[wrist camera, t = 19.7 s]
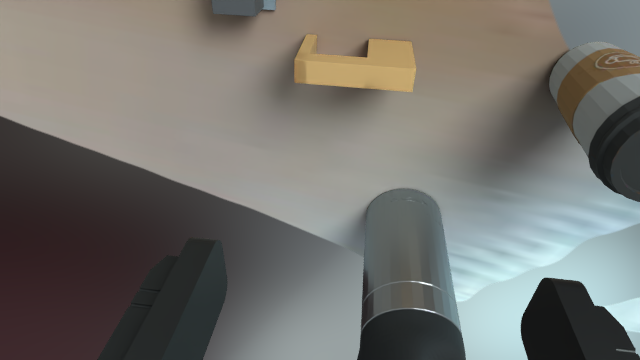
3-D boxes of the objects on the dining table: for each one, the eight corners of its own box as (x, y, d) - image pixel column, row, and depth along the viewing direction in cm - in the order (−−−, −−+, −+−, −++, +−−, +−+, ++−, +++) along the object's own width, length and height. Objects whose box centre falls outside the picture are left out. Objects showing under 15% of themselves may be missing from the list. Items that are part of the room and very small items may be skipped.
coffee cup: (648, 25, 36) (782, 99, 24) (617, 112, 41) (715, 209, 29) (546, 31, 37) (624, 103, 25) (528, 114, 42) (586, 208, 30)
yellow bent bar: (407, 62, 40) (412, 91, 35) (306, 54, 41) (294, 82, 35) (411, 41, 39) (416, 69, 34) (306, 34, 40) (294, 59, 34)
